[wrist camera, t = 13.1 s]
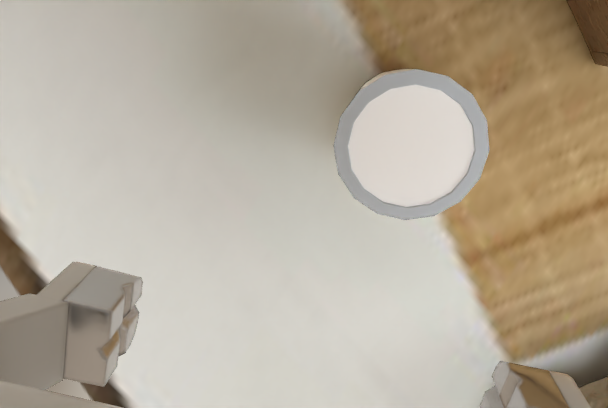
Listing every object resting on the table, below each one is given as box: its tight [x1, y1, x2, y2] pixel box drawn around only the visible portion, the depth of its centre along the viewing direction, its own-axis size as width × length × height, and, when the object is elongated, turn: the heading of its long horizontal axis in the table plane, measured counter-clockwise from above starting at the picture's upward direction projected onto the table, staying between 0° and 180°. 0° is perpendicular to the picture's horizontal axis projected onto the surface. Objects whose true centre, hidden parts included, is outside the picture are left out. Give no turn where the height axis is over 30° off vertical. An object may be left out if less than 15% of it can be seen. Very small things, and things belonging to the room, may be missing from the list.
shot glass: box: [334, 69, 489, 220], centre depth 27 cm, size 7×7×7 cm
